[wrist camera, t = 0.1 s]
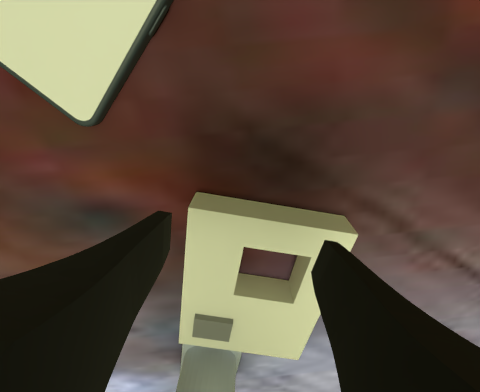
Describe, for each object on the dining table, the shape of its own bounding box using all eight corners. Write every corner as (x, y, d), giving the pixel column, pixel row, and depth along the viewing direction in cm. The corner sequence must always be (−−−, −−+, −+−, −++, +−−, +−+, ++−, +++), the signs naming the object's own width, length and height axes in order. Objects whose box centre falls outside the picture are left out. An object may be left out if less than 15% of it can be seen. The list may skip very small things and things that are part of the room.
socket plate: (293, 334, 29) (299, 365, 26) (185, 319, 28) (177, 348, 25) (344, 215, 21) (361, 239, 18) (196, 191, 21) (186, 211, 17)
